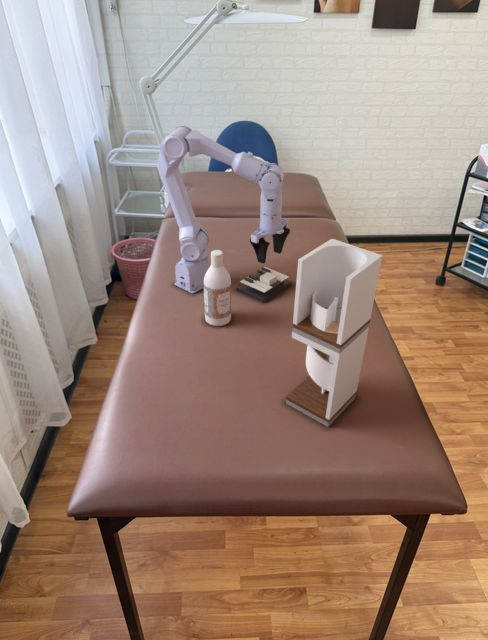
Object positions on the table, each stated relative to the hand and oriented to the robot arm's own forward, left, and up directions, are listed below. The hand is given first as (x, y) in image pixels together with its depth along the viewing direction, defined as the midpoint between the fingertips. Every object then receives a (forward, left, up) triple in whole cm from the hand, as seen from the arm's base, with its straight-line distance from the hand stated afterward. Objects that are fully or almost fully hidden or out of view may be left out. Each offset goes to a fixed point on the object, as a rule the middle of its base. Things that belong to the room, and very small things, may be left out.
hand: (269, 257), depth 143 cm
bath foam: (-21, 0, -11) cm, 24 cm away
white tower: (-29, -38, -11) cm, 49 cm away
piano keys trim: (0, +1, -8) cm, 8 cm away
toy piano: (0, +1, -11) cm, 11 cm away
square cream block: (0, 0, -8) cm, 8 cm away
